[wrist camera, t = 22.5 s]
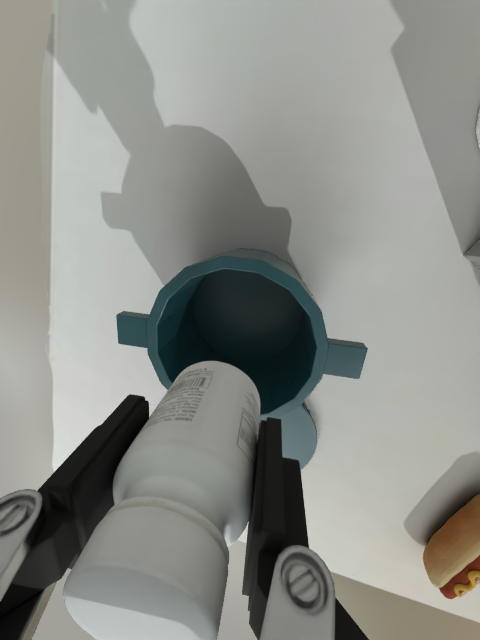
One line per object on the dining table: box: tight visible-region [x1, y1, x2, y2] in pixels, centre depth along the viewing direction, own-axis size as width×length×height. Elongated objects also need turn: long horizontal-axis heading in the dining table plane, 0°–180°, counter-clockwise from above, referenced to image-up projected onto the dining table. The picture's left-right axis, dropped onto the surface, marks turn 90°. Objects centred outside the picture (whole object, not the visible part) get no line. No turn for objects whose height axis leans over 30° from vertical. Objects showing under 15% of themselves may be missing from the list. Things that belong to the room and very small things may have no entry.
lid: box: [257, 405, 317, 470], centre depth 29 cm, size 14×14×6 cm
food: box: [423, 494, 480, 599], centre depth 29 cm, size 14×6×5 cm, turn 162°
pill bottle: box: [63, 361, 260, 640], centre depth 9 cm, size 4×4×8 cm
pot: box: [116, 249, 367, 423], centre depth 22 cm, size 13×18×10 cm
